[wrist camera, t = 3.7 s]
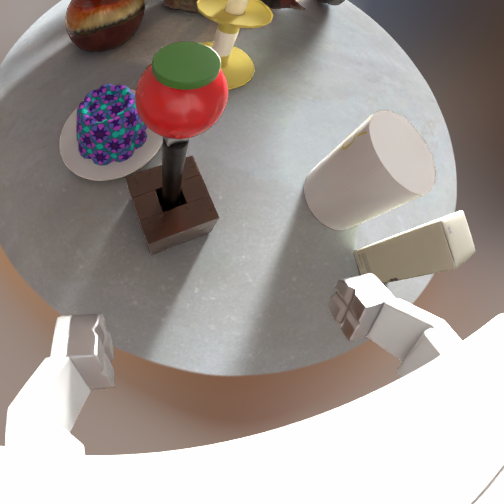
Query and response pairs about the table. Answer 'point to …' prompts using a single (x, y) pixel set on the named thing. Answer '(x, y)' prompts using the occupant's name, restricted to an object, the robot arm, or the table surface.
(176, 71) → the joystick
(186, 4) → the brown textured cylinder
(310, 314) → the table surface
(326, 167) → the white cylinder
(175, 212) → the block
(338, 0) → the headphones
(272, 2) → the stuffed fox
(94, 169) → the pudding
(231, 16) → the candle
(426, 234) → the box
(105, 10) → the vase
